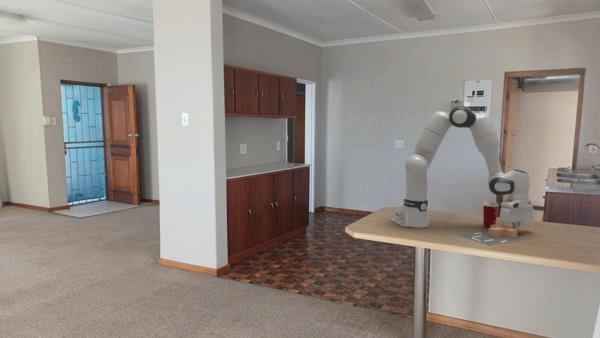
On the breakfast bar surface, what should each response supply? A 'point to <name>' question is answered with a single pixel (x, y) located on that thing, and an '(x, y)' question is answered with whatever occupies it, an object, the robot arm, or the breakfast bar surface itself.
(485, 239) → the board
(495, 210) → the paper cup
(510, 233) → the t block
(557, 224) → the breakfast bar surface
